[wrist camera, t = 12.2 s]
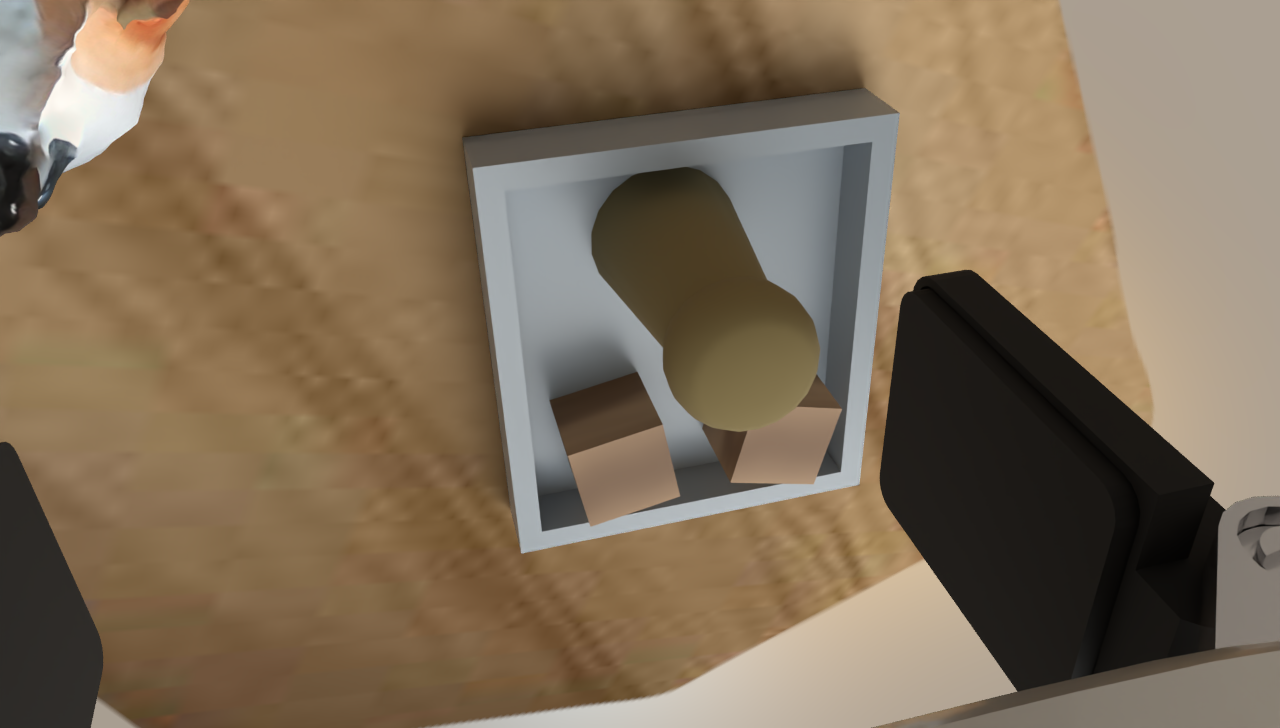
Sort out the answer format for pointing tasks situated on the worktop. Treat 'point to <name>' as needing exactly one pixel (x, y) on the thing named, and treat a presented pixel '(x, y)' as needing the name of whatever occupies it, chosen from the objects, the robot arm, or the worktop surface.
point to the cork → (705, 299)
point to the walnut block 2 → (780, 443)
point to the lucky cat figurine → (70, 88)
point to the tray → (609, 331)
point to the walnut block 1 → (615, 448)
